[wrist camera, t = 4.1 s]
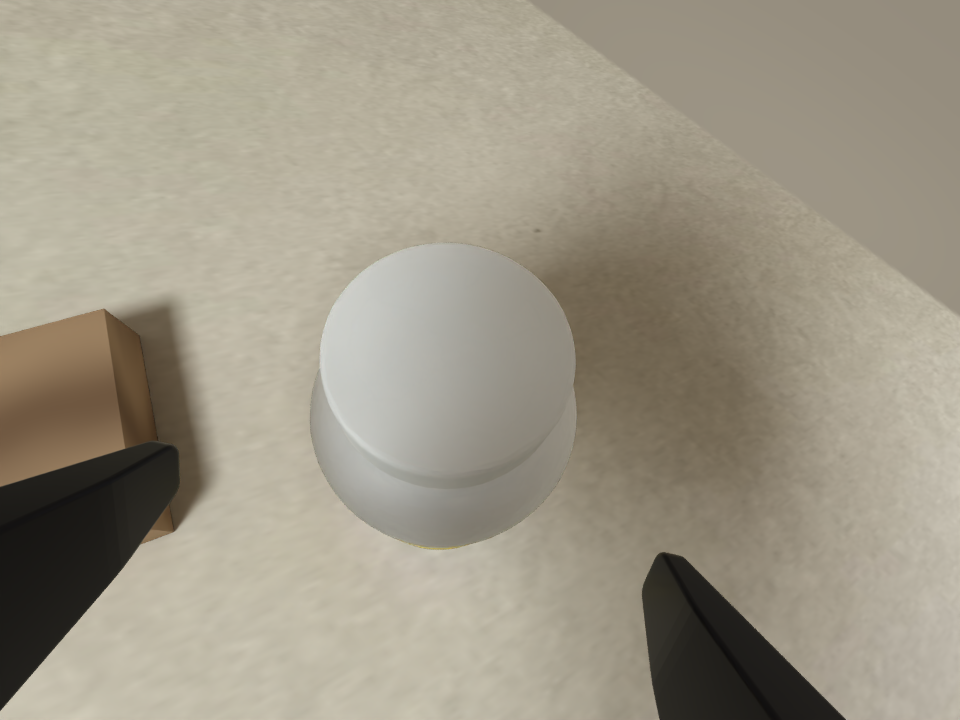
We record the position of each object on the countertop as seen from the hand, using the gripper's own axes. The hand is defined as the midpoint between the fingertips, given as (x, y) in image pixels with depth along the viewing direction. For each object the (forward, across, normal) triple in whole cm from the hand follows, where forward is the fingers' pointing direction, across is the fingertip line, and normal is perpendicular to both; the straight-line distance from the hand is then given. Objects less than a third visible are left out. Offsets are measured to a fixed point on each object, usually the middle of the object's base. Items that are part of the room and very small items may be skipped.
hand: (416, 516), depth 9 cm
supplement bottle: (+10, 0, +6) cm, 12 cm away
